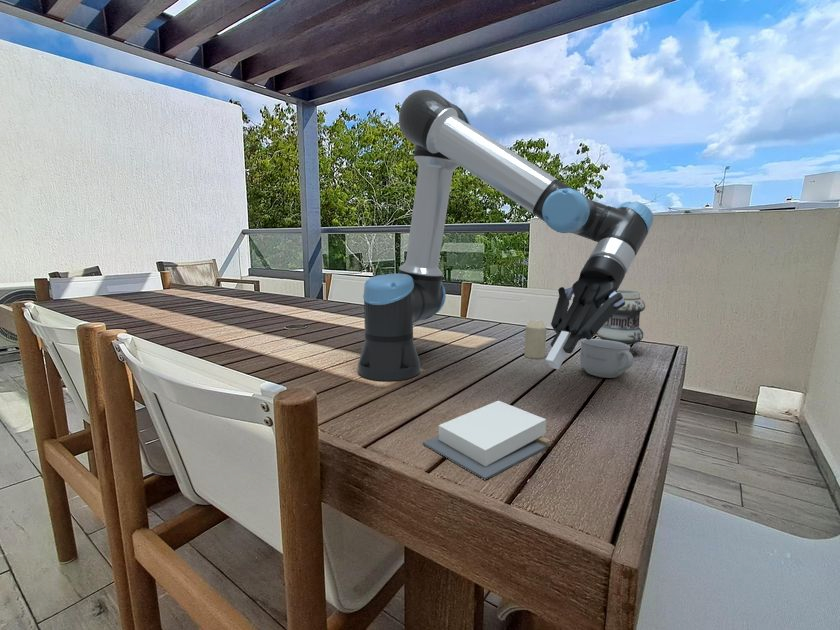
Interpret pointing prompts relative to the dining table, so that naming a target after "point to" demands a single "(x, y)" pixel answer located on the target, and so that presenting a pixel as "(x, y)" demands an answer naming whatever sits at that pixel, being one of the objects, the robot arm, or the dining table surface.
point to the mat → (478, 468)
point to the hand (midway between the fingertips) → (552, 364)
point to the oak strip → (543, 441)
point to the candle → (535, 340)
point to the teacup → (605, 357)
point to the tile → (492, 431)
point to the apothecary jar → (625, 321)
